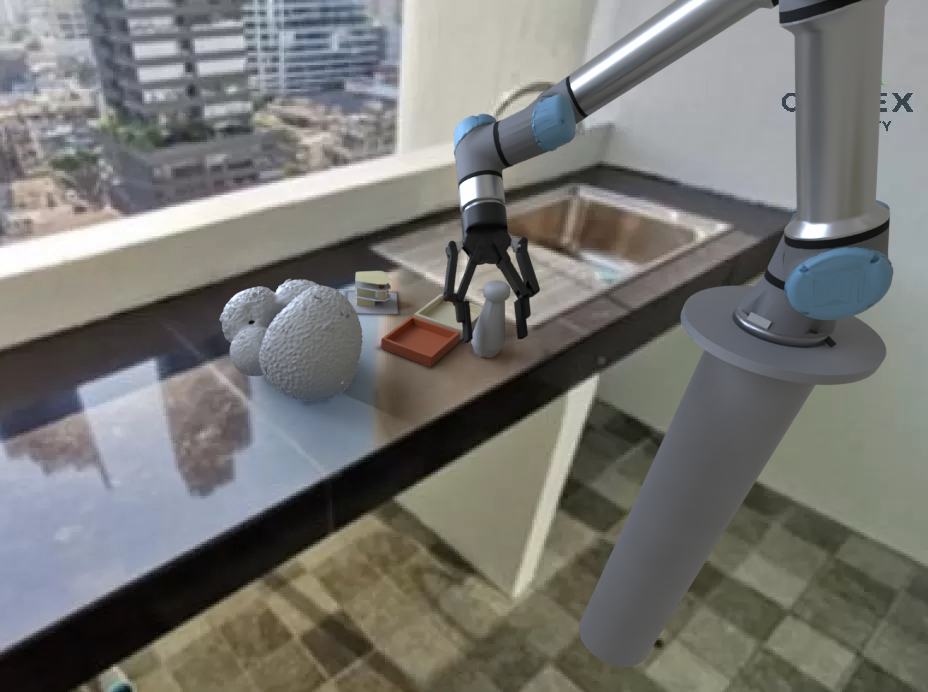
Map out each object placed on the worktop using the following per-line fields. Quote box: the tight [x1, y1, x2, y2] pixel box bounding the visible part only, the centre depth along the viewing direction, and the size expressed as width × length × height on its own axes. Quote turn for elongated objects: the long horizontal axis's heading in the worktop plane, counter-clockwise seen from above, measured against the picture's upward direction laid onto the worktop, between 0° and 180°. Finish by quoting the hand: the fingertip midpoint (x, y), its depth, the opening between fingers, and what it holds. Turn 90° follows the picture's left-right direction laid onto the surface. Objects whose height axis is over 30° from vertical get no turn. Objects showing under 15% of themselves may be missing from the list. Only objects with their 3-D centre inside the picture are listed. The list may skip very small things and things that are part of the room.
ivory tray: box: [413, 293, 483, 341], centre depth 115 cm, size 10×10×2 cm
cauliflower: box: [219, 278, 363, 402], centre depth 96 cm, size 20×25×22 cm
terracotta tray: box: [380, 315, 460, 368], centre depth 108 cm, size 10×10×2 cm
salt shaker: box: [470, 279, 511, 359], centre depth 103 cm, size 6×6×13 cm
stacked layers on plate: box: [347, 270, 399, 315], centre depth 120 cm, size 10×9×6 cm
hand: (495, 339), depth 102 cm, fingers open, 9 cm apart
